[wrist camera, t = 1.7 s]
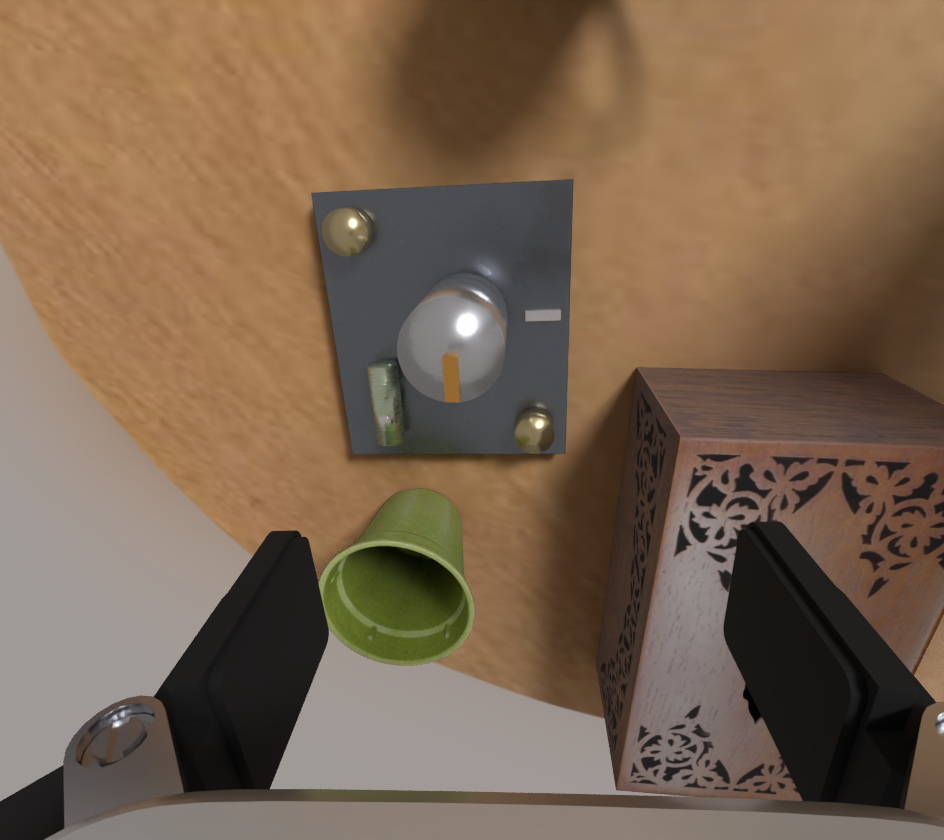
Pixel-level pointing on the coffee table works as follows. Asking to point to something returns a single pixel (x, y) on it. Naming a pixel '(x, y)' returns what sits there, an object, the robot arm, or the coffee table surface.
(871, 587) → the tissue box cover
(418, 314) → the silver cylinder
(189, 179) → the coffee table surface
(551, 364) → the base
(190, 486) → the coffee table surface
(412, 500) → the plant pot
